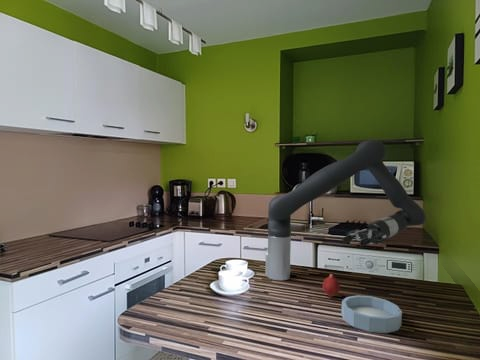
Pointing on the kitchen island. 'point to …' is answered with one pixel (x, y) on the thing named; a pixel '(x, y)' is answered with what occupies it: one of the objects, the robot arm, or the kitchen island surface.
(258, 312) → the kitchen island surface
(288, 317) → the kitchen island surface
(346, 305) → the faceted shallow dish
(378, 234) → the robot arm
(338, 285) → the onion
